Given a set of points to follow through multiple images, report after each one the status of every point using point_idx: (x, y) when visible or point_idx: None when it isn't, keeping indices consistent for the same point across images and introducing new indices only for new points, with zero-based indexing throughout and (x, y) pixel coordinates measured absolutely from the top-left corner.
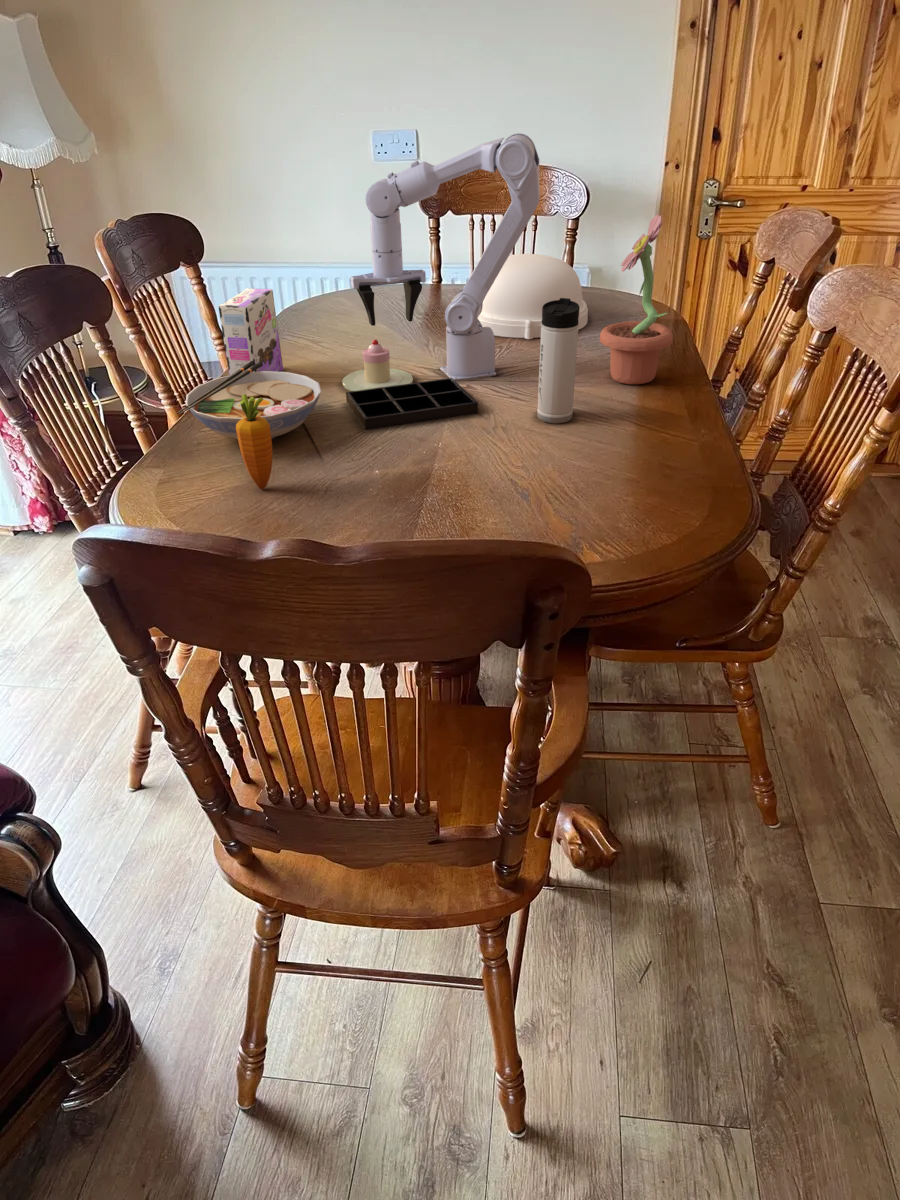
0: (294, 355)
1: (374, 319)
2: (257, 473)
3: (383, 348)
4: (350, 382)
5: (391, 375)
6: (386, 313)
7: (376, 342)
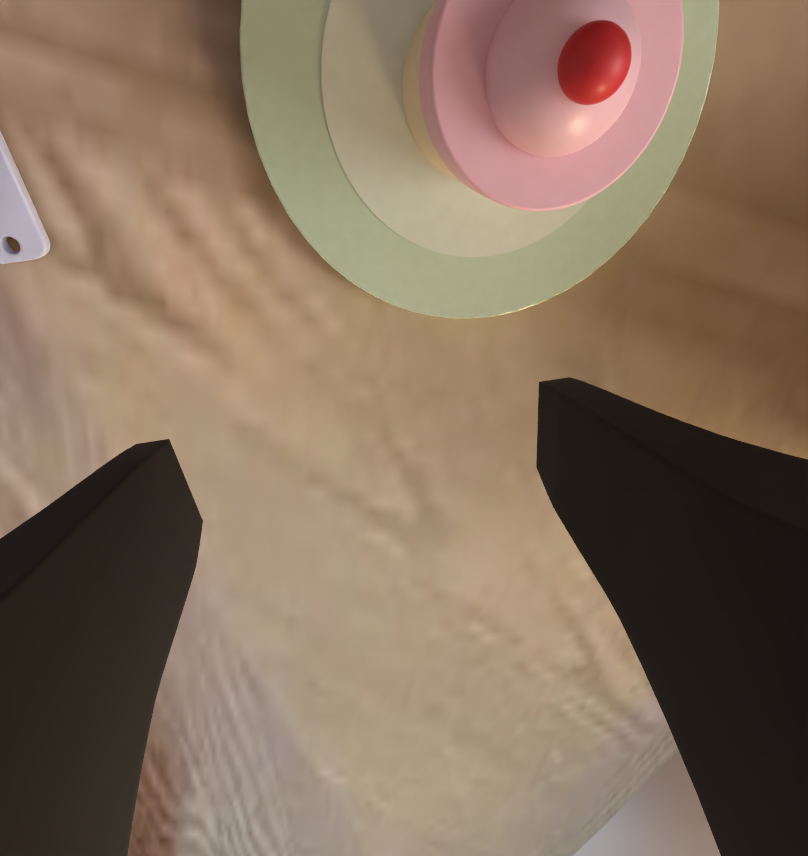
0: None
1: (575, 395)
2: None
3: (471, 141)
4: None
5: (384, 142)
6: (305, 851)
7: (596, 22)
